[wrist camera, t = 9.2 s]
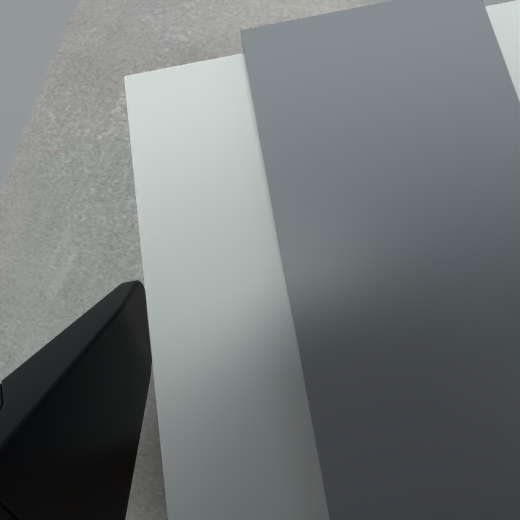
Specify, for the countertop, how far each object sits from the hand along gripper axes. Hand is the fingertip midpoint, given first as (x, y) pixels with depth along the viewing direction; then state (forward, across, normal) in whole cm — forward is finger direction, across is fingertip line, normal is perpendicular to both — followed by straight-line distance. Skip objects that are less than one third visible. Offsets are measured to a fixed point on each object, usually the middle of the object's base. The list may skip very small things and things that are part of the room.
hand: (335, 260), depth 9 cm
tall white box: (+5, 0, +6) cm, 8 cm away
